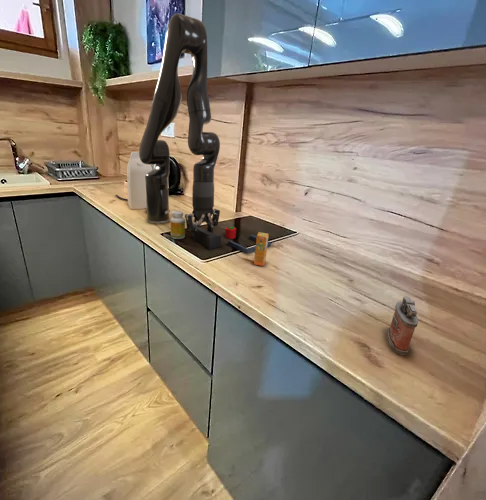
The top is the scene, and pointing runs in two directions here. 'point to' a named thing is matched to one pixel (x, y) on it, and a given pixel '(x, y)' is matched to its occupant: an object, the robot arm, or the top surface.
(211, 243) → the matte black brick
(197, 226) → the robot arm
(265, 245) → the supplement box
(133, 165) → the milk
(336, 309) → the top surface
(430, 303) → the top surface
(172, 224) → the supplement bottle
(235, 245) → the frame
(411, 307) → the lighter
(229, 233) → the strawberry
